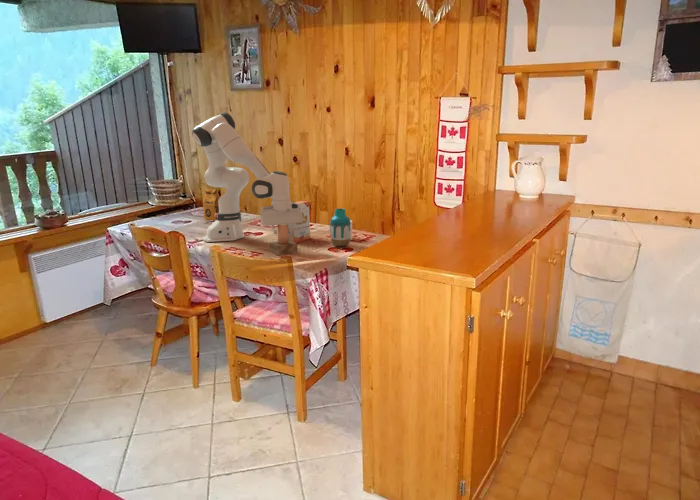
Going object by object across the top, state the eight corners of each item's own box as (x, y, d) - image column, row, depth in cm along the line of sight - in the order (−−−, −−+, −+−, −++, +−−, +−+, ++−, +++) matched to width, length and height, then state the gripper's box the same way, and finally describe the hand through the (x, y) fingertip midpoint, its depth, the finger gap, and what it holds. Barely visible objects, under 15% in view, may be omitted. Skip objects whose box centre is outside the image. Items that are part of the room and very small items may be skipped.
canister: (279, 244, 249) (278, 224, 247) (277, 242, 254) (276, 223, 252) (289, 243, 251) (289, 224, 249) (287, 241, 255) (286, 222, 253)
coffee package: (214, 225, 325) (211, 190, 320) (202, 223, 333) (199, 189, 328) (226, 222, 333) (224, 189, 328) (215, 220, 341) (212, 187, 335)
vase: (332, 243, 269) (330, 207, 264) (352, 243, 268) (351, 207, 263) (329, 248, 258) (328, 211, 254) (350, 248, 257) (349, 210, 253)
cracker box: (295, 244, 270) (293, 204, 264) (286, 242, 273) (284, 204, 268) (311, 238, 281) (309, 201, 276) (302, 237, 284) (300, 200, 279)
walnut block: (279, 256, 247) (278, 246, 246) (270, 252, 255) (269, 242, 254) (297, 253, 252) (297, 243, 251) (288, 249, 260) (288, 239, 259)
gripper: (261, 207, 241) (262, 236, 245) (302, 204, 248) (304, 232, 251) (258, 205, 247) (260, 233, 251) (299, 202, 254) (300, 230, 257)
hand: (282, 233), depth 251 cm, fingers open, 6 cm apart
